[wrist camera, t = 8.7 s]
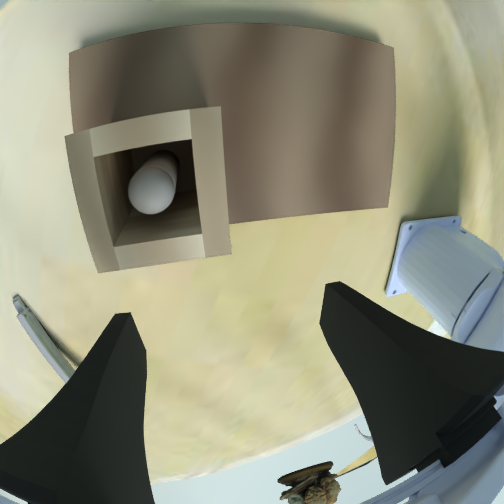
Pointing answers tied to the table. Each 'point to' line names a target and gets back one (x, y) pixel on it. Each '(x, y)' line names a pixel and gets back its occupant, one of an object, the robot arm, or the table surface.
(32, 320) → the caliper
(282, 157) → the brown board with peg
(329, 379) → the table surface
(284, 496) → the owl figurine
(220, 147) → the hollow square tube
